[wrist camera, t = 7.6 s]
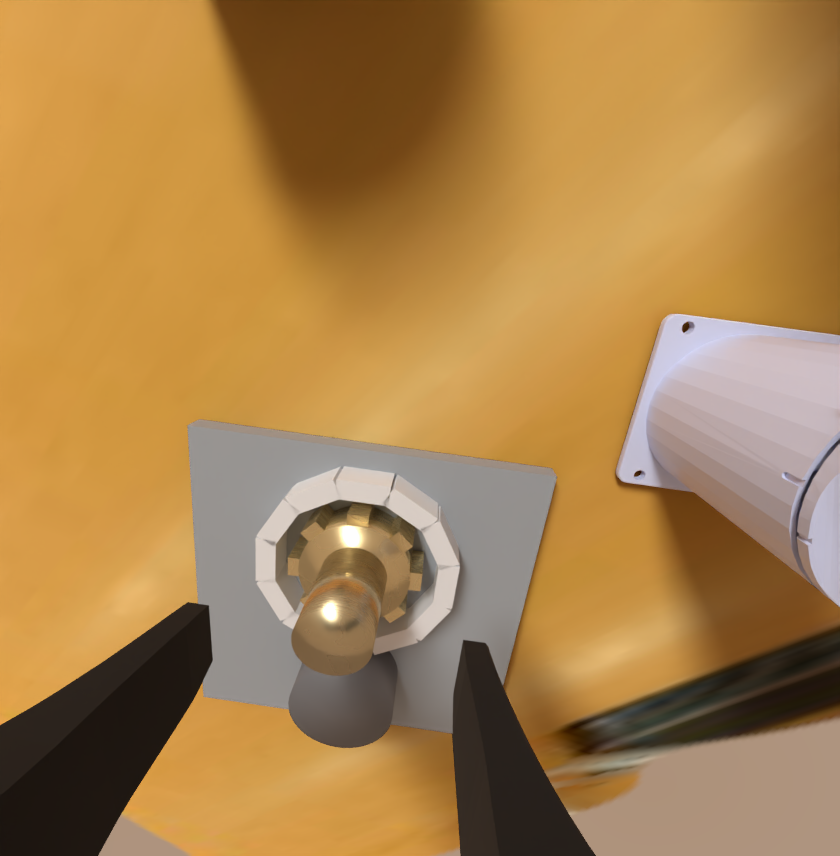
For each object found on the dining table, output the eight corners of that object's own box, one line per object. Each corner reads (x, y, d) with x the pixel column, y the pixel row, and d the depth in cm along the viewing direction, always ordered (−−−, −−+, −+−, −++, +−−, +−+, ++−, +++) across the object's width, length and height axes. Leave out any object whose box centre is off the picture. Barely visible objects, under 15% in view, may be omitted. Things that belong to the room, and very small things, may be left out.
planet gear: (430, 503, 20) (424, 585, 14) (416, 608, 22) (408, 715, 16) (301, 488, 20) (246, 563, 15) (300, 593, 22) (251, 695, 17)
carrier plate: (551, 468, 20) (572, 502, 17) (487, 722, 26) (494, 785, 23) (199, 419, 20) (152, 443, 17) (212, 682, 26) (178, 738, 23)
